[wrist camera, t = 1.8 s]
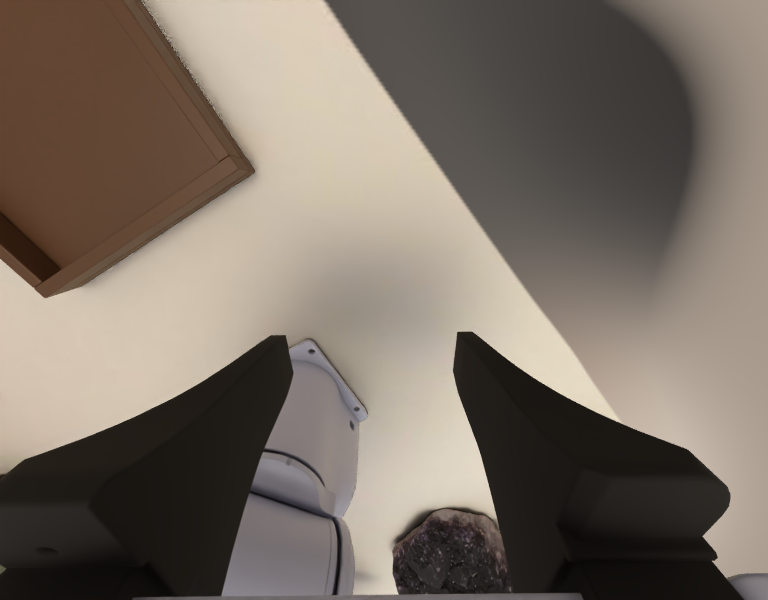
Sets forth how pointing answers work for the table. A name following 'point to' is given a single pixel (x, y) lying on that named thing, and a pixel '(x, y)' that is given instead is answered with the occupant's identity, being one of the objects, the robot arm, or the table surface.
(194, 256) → the table surface
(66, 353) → the table surface
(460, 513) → the crystal cluster
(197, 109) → the tray
